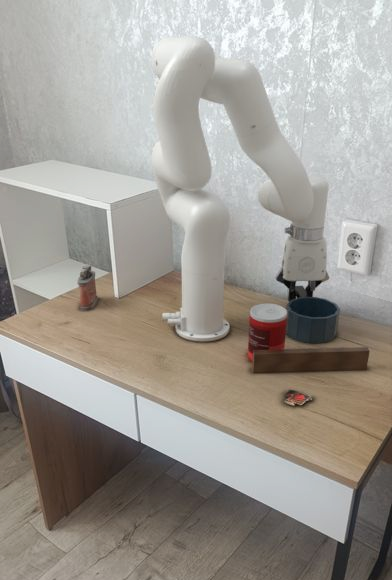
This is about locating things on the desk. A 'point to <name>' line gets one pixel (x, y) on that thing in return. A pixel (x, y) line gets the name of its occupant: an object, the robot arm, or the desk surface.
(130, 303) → the desk surface
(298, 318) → the saucepan
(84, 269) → the lighter
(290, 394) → the mottled red brown piece
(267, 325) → the canned food
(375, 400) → the desk surface
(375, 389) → the desk surface
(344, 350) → the wooden board
